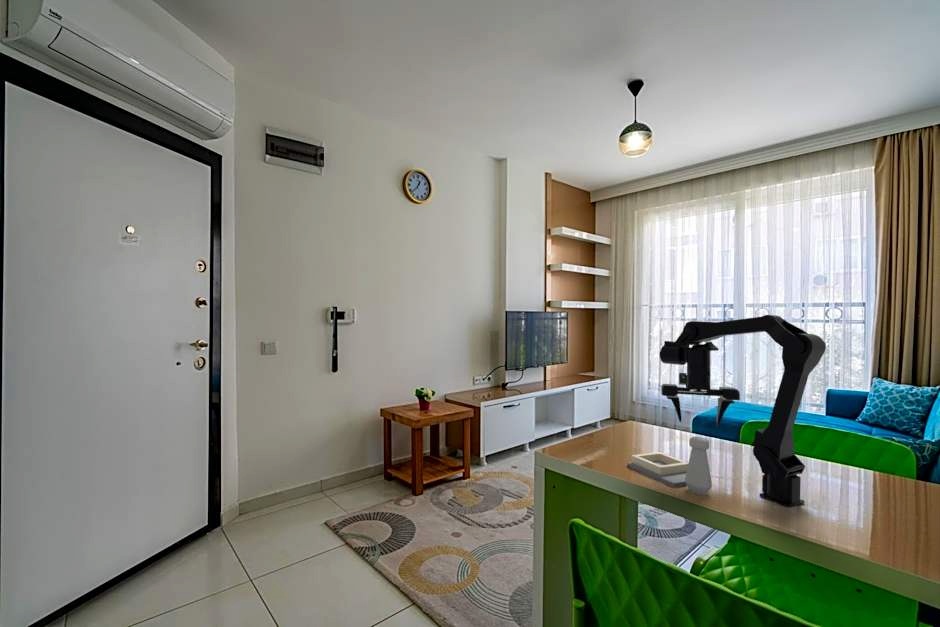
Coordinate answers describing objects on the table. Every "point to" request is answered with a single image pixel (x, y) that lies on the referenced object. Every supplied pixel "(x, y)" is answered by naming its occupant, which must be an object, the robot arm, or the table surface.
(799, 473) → the robot arm
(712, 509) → the table surface
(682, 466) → the build board
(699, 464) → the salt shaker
